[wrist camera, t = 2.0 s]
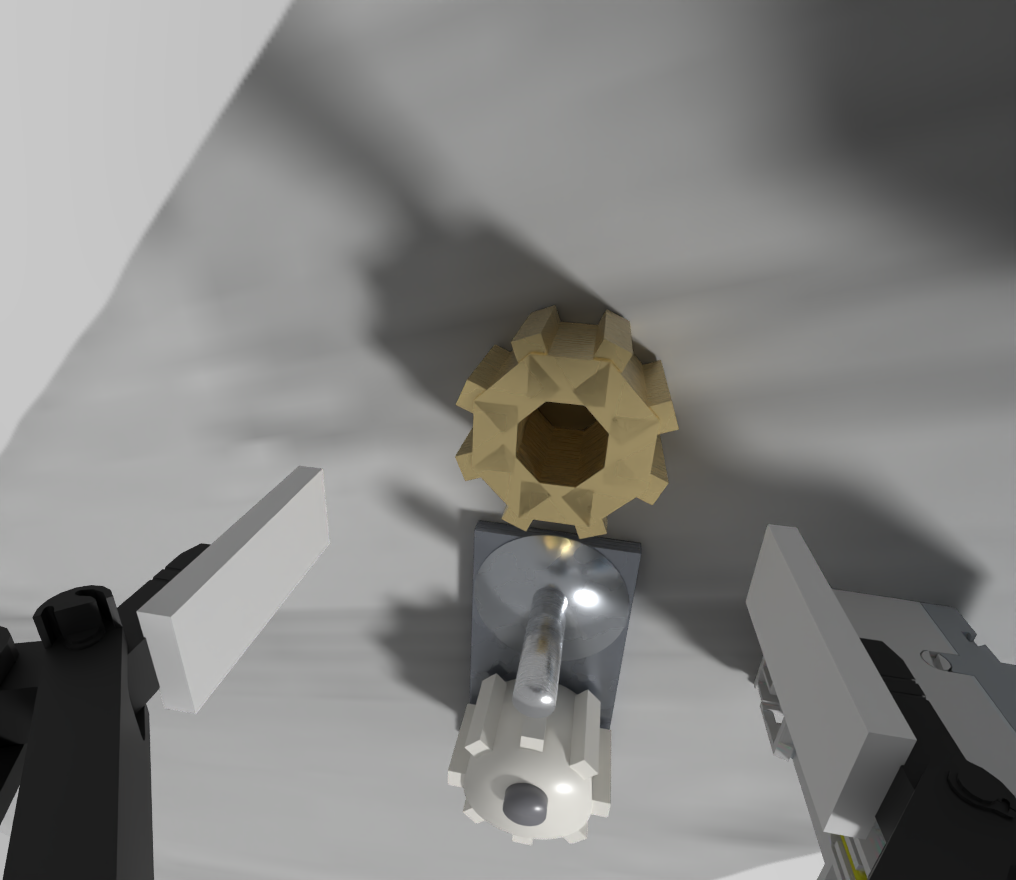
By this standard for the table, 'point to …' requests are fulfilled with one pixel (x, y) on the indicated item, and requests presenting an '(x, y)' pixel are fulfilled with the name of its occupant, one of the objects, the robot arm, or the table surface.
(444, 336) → the table surface
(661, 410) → the brass gear
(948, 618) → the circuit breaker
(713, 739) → the table surface
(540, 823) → the gear
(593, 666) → the gear plate
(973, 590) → the table surface
